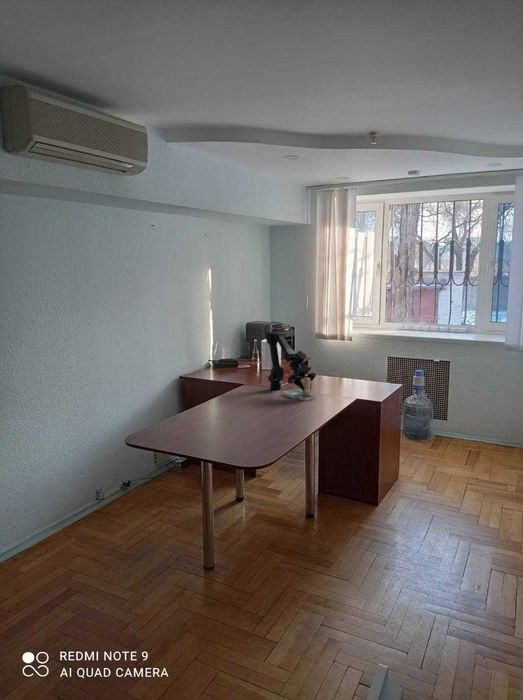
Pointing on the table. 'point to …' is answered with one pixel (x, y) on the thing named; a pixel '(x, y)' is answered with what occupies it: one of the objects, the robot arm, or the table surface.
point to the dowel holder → (305, 398)
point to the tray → (292, 393)
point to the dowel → (306, 387)
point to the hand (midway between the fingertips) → (307, 389)
